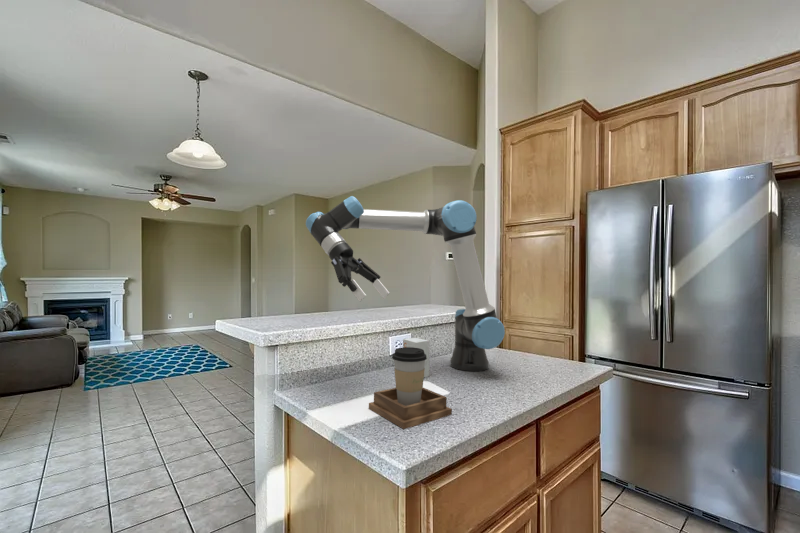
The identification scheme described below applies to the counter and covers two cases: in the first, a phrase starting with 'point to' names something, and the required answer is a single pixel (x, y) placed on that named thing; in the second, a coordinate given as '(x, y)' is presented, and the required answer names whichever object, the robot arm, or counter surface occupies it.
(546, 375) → the counter surface
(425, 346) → the small box
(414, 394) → the coffee cup
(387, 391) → the wooden tray
